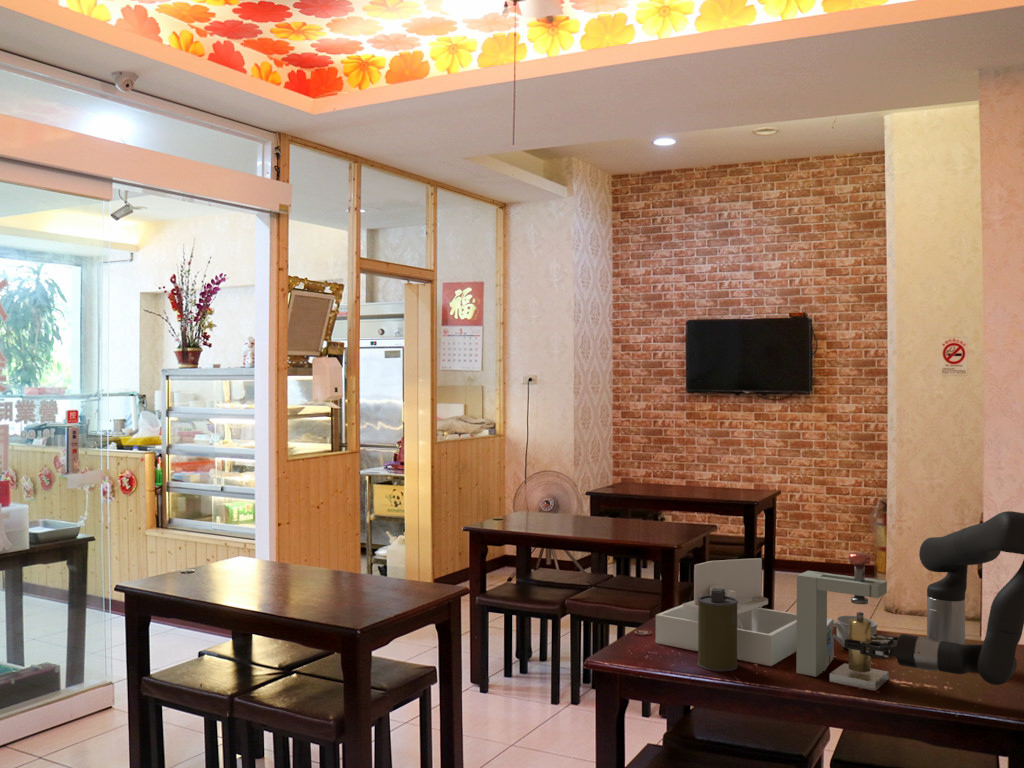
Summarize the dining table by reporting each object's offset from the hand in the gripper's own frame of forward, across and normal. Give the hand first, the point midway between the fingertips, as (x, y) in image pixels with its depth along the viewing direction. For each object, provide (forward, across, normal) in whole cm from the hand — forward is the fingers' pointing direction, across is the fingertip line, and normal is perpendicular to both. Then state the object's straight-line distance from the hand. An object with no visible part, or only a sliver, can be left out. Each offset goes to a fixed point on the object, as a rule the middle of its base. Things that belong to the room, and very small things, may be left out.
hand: (849, 640), depth 227 cm
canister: (+31, +11, +10) cm, 34 cm away
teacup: (+9, -28, +10) cm, 31 cm away
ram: (-3, 0, -10) cm, 10 cm away
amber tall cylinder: (-3, 0, +7) cm, 7 cm away
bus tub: (+37, -11, +9) cm, 39 cm away
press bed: (-2, 0, +10) cm, 10 cm away
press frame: (+2, 0, +9) cm, 10 cm away
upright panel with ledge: (+37, -11, +10) cm, 40 cm away
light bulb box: (+12, -10, +10) cm, 18 cm away
